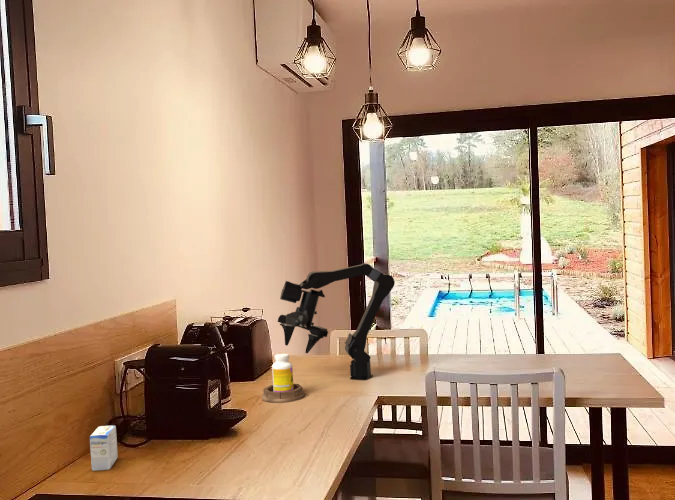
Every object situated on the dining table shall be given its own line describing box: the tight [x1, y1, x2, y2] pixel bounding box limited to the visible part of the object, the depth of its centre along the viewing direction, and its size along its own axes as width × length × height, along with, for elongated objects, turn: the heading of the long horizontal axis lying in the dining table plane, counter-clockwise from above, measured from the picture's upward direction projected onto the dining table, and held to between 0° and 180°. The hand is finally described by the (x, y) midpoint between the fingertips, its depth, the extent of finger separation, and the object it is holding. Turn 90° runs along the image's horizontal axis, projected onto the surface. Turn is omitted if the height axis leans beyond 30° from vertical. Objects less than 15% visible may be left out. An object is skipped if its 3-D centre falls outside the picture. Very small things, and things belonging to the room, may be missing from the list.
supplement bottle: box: [271, 353, 294, 392], centre depth 221 cm, size 7×7×13 cm
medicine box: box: [89, 425, 118, 472], centre depth 166 cm, size 8×4×9 cm, turn 5°
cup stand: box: [261, 383, 305, 404], centre depth 222 cm, size 14×14×3 cm
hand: (296, 349), depth 238 cm, fingers open, 9 cm apart
